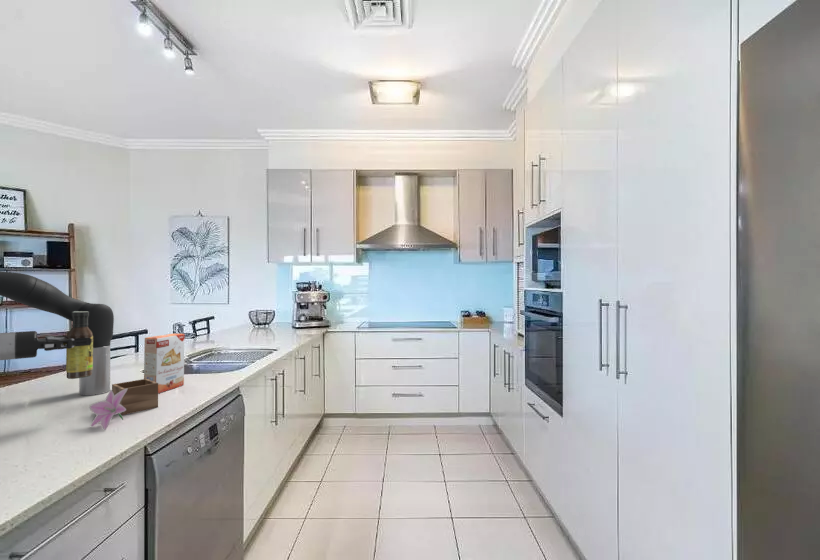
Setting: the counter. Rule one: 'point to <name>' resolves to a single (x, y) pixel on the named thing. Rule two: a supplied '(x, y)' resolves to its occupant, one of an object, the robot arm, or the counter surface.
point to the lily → (108, 408)
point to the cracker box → (165, 360)
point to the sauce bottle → (79, 348)
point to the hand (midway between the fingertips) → (89, 340)
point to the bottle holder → (137, 395)
